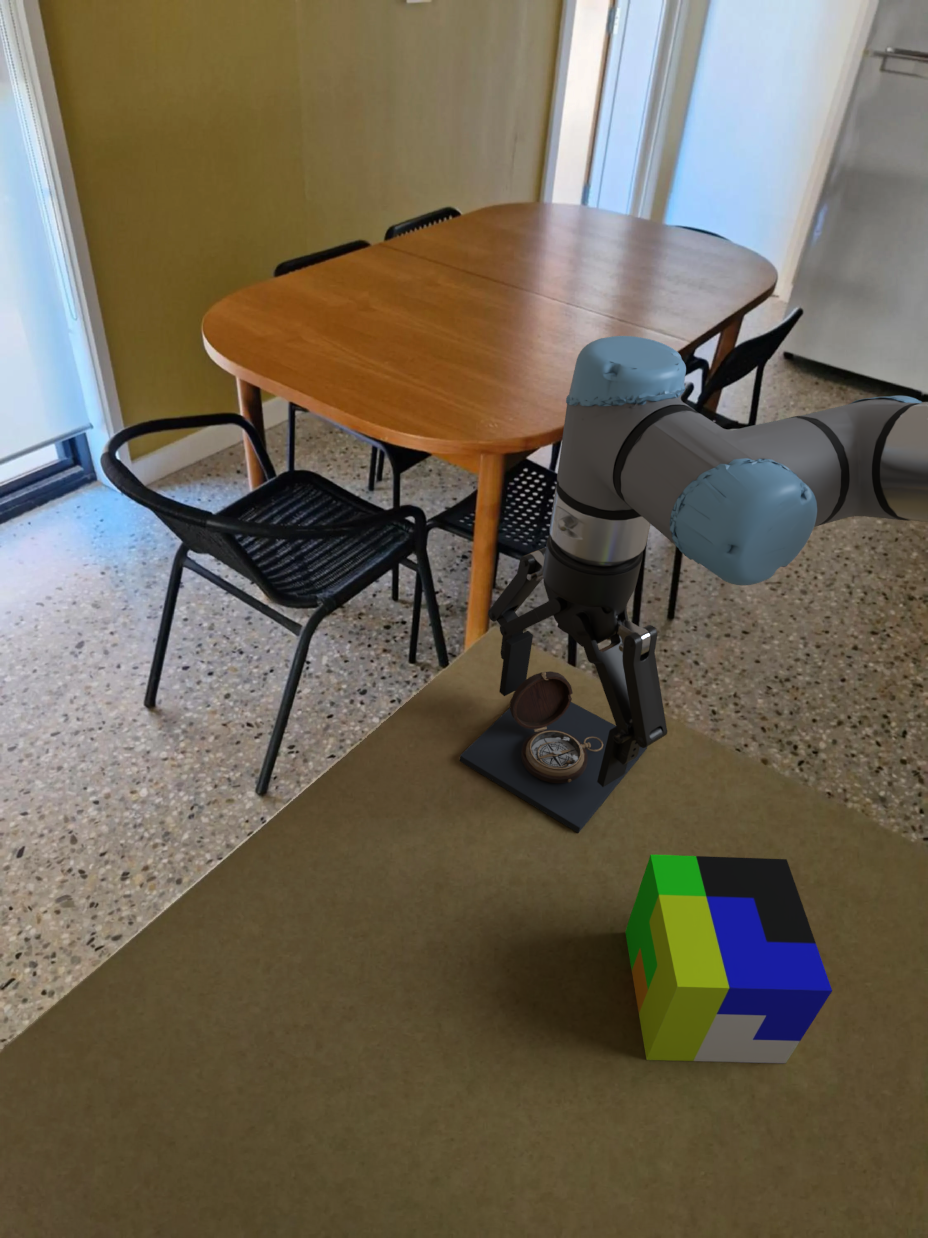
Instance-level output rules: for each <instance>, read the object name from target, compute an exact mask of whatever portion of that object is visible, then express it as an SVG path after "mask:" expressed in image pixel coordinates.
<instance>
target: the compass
mask: <svg viewBox="0 0 928 1238" xmlns="http://www.w3.org/2000/svg"><path fill="white" fill-rule="evenodd" d="M572 695H573V688H572V684H570V682H569V681H568V680H567V678H566V677H565V676H564V675H563V674H561V673H559V672H556V671H542V672H539V673H536V674H533V675H531V676H529V677H527V679H526V680H525V681H524V682H523V683H522V684H521V685H520V686H519V687H518V688H517V689H516V691H514V692H513V694H512V696H511V699H510V702H509V708H510V711H511V714H512V716H513V718H514V719H515V721H516V722H517V723H518V724H519V725H520V726H522V727H524V728H527V729H534V732H536V731H537V732H536V733H534V734H532V735H531V736H529V737H528V738H527V739H526V741H525V742H524V744H523V747H522V753H521V757H522V762H523V764H524V766H525V767H526V769H527V770H528V771H529V772H530V773H531V774H532V775H534V776H535V777H537V778H539V779H541V780H544V781H547V782H550V783H566V782H571V781H573V780H575V779H577V778H578V777H579V776H581V775H582V774H583V772H584V771H585V769H586V766H587V760H588V755H587V751H586V749H588V750H590V751H594V752H595V751H599V750H601V749H602V748H603V743H602V741H601V740H600V739H599V738H597V737H588V738H586V739H585V740H584V744H582V743H581V742H580V741H579V740H578V739H577V738H576V737H574V736H572V735H570V734H568V733H565V732H562V731H559V730H545V729H547V727H546V726H549V725H550V724H552V723H554V722H555V721H557V720H558V719H559V718H560V717H561V716H562V715H563V714H564V713H565V712H566V710H567V709H568V708H569V705H570V703H571V702H572V701H573V698H572ZM589 738H595V739H597V740H599V741H600V742H601V744H602V746H601V748H600V749H598V750H592V749H589V748H590V747H591V744H590V743H589V742H588V743H585V741H586V740H587V739H589Z"/></svg>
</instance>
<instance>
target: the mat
mask: <svg viewBox="0 0 928 1238" xmlns="http://www.w3.org/2000/svg"><path fill="white" fill-rule="evenodd" d="M546 727H547V729H545V730H559V731H562V732H565V733H568V734H570V735H572V736H574V737H576V738H577V739H578V740H579V741H580V742H581V743H582V744H584V740H585V739H586V738H588V737H597V738H599V739H600V740H601V741H602V743H603V748H602V749H601V750H599V751H595V752H594V751H590V750H588V749H586V751H587V755H588V760H587V766H586V769H585V771H584V772H583V774H582V775H581V776H579V777H578V778H577V779H575V780H573V781H571V782H566V783H550V782H547V781H544V780H541V779H539V778H537V777H535V776H534V775H532V774H531V773H530V772H529V771H528V770H527V769H526V767H525V766H524V764H523V762H522V757H521V753H522V747H523V744H524V742H525V741H526V739H527V738H528V737H529V736H531V735H532V734H534V733H536V732H537V731H536V732H534V729H527V728H524V727H522V726H520V725H519V724H518V723H517V722H516V721H515V719H514V718H513V716H512V714H511V711H510V707H509V708H508V709H507V710H505V712H504V713H503V714H501V716H499V717H498V718H497V719H496V720H495V721H494V722H493V723H492V724H491V725H490V726H489V727H488V728H487V729H486V730H485V731H483V732H482V734H481V735H479V736H478V737H477V739H475V740H474V741H473V742H472V743H471V744H470V745H469V746H468V747H467V748H466V749H465V750H464V751H463V752H462V753H461V754H460V755H459V762H460V763H461V764H463V765H465V766H467V767H468V768H470V769H472V770H474V771H475V772H477V773H478V774H480V775H482V776H483V777H485V778H487V779H488V780H489V781H492V782H493V783H495V784H497V786H500V787H501V788H503V789H505V790H506V791H508V792H509V793H511V794H513V795H515V796H516V797H518V798H520V799H521V800H523V801H525V802H526V803H528V804H529V805H530V806H533V807H535V808H536V809H537V810H539V811H541V812H542V813H544V814H546V815H548V816H549V817H551V818H553V819H554V820H555V821H557V822H559V823H560V824H563V826H565V827H567V828H568V829H571V830H572V831H574V832H576V833H577V834H579V833H580V832H581V831H582V830H583V829H584V827H585V826H586V825H587V823H588V822H589V821H590V820H591V818H593V816H594V815H595V813H596V812H597V811H598V810H599V808H600V807H601V806H602V805H603V804H604V802H605V801H606V800H607V799H608V797H609V796H610V795H611V794H612V793H613V791H614V790H615V789H616V788H617V786H618V785H619V784H620V783H621V782H622V780H623V779H624V778H625V776H626V775H627V774H628V773H629V772H630V770H631V769H632V768H633V766H635V764H636V763H637V762H638V760H639V759H640V758H641V757H642V755H643V754H644V753H645V752H646V751H647V749H648V747H649V746H647V747H645V748H642V747H640V749H639V752H638V756H636V757H635V758H634V759H632V760H631V761H629V762H628V764H627V768H626V771H625V774H624V775H622V776H621V777H619V778H618V779H616V780H614V781H613V782H611V783H609V784H608V785H606V786H604V787H602V786H601V785H600V784H599V783H598V782H597V780H598V776H599V772H600V768H601V764H602V760H603V756H604V751H605V747H606V743H607V739H608V735H609V731H610V730H611V729H613V728H614V727H616V724H614V723H612V722H610V721H608V720H606V719H604V718H602V717H600V716H598V715H597V714H595V713H593V712H591V711H589V710H587V709H585V708H584V707H582V706H580V705H578V704H576V703H575V702H572V701H571V703H570V705H569V708H568V709H567V710H566V712H565V713H564V714H563V715H562V716H561V717H560V718H559V719H558V720H557V721H555V722H554V723H552V724H550V725H549V726H546ZM588 742H589V743H590V744H591V747H590V748H589V749H592V750H598V749H600V748H601V746H602V744H601V742H600V741H599V740H597V739H595V738H589V739H587V740H586V741H585V743H588Z"/></svg>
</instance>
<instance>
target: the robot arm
mask: <svg viewBox="0 0 928 1238" xmlns="http://www.w3.org/2000/svg"><path fill="white" fill-rule="evenodd" d="M575 361H576V362H575V365H574V370H573V375H572V379H571V383H570V388H569V392H568V394H567V396H566V398H565V404H566V408H565V409H566V410H565V415H564V424H563V432H562V437H561V438H562V439H561V446H560V452H559V453H560V454H559V460H558V466H557V467H558V468H557V475H556V484H555V489H554V495H553V503H552V510H551V516H550V524H549V529H548V530H549V535H548V536H547V539H546V545H545V547H542V548H540V549H537V550H535V551H532V552H530V553H527V554H524V555H523V556H521V557H520V558H519V563H518V567H517V571H516V574H515V575H514V576H513V578H512V579H511V580H510V582H509V583H508V584H507V586H506V587H505V588H504V589H503V591H502V592H501V593H500V594H499V596H498V598H497V599H496V600H495V602H494V603H493V604H492V606H491V607H490V608H489V609H488V612H487V614H488V618H489V619H490V621H491V622H494V623H495V622H497V623H498V624H499V632H500V634H501V636H502V637H501V645H500V658H501V659H502V666H501V667H502V668H501V675H500V683H499V690H498V691H499V694H501V695H502V696H503V697H506V696H508V695H510V694H512V693H514V692H515V691H516V689H517V688H518V687H519V686H520V685H521V684H522V683H523V682H524V681H525V680H526V679H528V672H529V665H530V658H531V653H532V645H533V639H534V634H533V633H532V632H530V631H529V630H526V629H528V628H531V627H532V626H534V625H536V624H538V623H541V622H543V621H545V620H547V619H548V618H552V617H553V618H554V620H555V622H556V624H557V628H558V629H559V630H560V631H562V632H564V633H565V634H567V635H569V636H570V637H571V638H572V639H573V640H574V641H575V642H576V643H577V645H579V646H581V647H582V648H583V650H584V653H585V656H586V659H587V661H588V663H590V664H592V665H594V666H595V669H596V672H597V676H598V677H599V678H598V679H599V681H600V684H601V687H602V690H603V693H604V695H605V698H606V700H607V703H608V707H609V709H610V712H611V715H612V718H613V721H614V723H615V724H614V725H616V727H614V728H613V729H611V730H610V731H609V735H608V739H607V743H606V747H605V751H604V756H603V760H602V764H601V768H600V772H599V776H598V780H597V782H598V783H599V784H600V785H601V786H602V787H604V786H606V785H608V784H609V783H611V782H613V781H614V780H616V779H618V778H619V777H621V776H622V775H624V774H625V771H626V768H627V764H628V762H629V761H631V760H632V759H634V758H635V757H636V756H638V752H639V749H640V747H642V748H645V747H647V746H648V747H649V746H650V745H652V744H654V743H656V742H657V741H659V740H660V739H662V738H664V737H665V736H667V734H668V728H667V721H666V715H665V709H664V702H663V696H662V690H661V685H660V677H659V672H658V664H657V659H656V658H657V657H656V646H657V639H658V631H657V628H655V626H653V625H652V624H647V625H646V626H643V627H641V626H638V624H635V623H633V622H632V621H630V620H629V615H628V609H627V608H628V607H627V606H628V603H629V601H630V599H631V598H632V596H633V594H634V592H635V589H636V586H637V583H638V579H639V574H640V569H641V565H642V562H643V557H644V550H645V548H646V545H647V542H648V538H649V533H650V530H651V526H652V527H654V529H656V530H657V531H658V532H659V533H661V534H662V535H663V537H665V538H666V539H668V540H669V541H670V542H671V543H672V544H673V545H675V547H676V548H678V550H679V552H681V554H683V555H684V557H686V558H687V559H688V560H691V561H694V562H695V563H696V564H697V565H699V564H700V565H701V566H702V567H704V568H706V569H707V570H709V571H710V572H711V573H713V574H714V575H715V576H717V577H718V578H719V579H720V580H722V581H724V582H726V583H728V584H730V585H735V586H752V585H757V584H759V583H760V584H761V583H762V582H765V581H767V580H769V579H772V577H773V576H774V575H775V573H776V572H777V570H778V569H780V568H786V567H788V566H789V565H790V564H791V563H792V562H793V561H794V560H795V559H796V558H797V556H799V554H800V553H801V551H802V550H803V548H804V547H805V546H806V545H807V542H808V541H809V539H810V538H811V535H812V533H813V531H814V528H816V527H819V526H823V525H826V524H829V523H834V522H837V521H840V520H844V519H847V518H853V517H866V518H867V517H869V518H877V519H878V518H879V519H885V520H886V519H887V520H897V521H906V522H909V521H913V522H922V523H923V522H924V523H928V401H922V400H919V399H917V398H915V397H913V396H908V395H890V396H875V397H866V398H865V397H864V398H861V399H855V400H854V401H852V402H850V403H848V404H843V405H839V406H835V407H832V408H827V409H823V410H820V411H819V410H818V411H815V412H811V413H806V414H803V415H794V416H791V417H787V418H783V419H778V420H773V421H768V422H765V423H758V424H754V425H750V426H745V427H741V428H736V429H726V428H723V427H721V425H719V424H718V423H715V422H714V421H712V420H711V419H709V418H707V417H706V416H705V415H703V414H702V413H699V412H698V411H697V410H695V409H694V408H693V407H691V406H690V405H688V404H687V403H685V402H683V400H682V395H683V394H685V393H684V392H685V390H686V386H685V382H686V381H685V379H686V373H687V366H686V364H685V362H684V360H683V359H682V356H681V354H680V353H679V352H678V350H676V349H675V348H673V347H671V346H669V345H668V344H665V343H663V342H660V341H657V340H654V339H650V338H646V337H640V336H635V335H634V336H633V335H614V336H607V337H601V338H597V339H595V340H592V341H591V342H589V343H587V344H586V345H585V346H583V348H582V349H581V350H580V351H579V353H578V355H577V357H576V360H575ZM541 581H543V587H544V590H545V592H546V596H547V600H548V601H546V602H544V603H542V604H539V605H538V606H536V607H534V608H533V609H531V610H529V611H527V612H525V613H523V614H521V615H518V614H517V611H518V610H519V608H521V606H522V605H523V604H524V602H525V601H526V600H527V599H528V597H530V595H531V594H532V593H533V591H534V590H535V589H536V588H537V586H539V584H540V583H541ZM524 630H526V631H524ZM609 639H610V643H609V644H608V645H606V646H604V647H602V648H599V644H600V643H602V642H604V641H606V640H609ZM648 747H647V748H648Z"/></svg>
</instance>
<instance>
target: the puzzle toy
mask: <svg viewBox="0 0 928 1238" xmlns="http://www.w3.org/2000/svg"><path fill="white" fill-rule="evenodd" d="M801 899H802V898H801V897H800V894H799V890H798V888H797V885H796V882H795V878H794V877H793V874H792V870H791V868H790V865H789V862H788V859H787V858H764V857H763V858H762V857H735V856H734V857H733V856H705V855H680V854H679V855H678V854H677V855H675V854H650V855H649V857H648V861H647V864H646V868H645V870H644V873H643V875H642V879H641V882H640V885H639V888H638V891H637V894H636V897H635V901H634V904H633V906H632V910H631V913H630V916H629V918H628V921H627V925H626V928H625V931H624V933H625V938H626V945H627V950H628V957H629V963H630V968H631V974H632V981H633V986H634V992H635V993H634V994H635V1000H636V1005H637V1011H638V1017H639V1023H640V1029H641V1035H642V1041H643V1047H644V1054H645V1060H646V1061H670V1062H671V1061H673V1062H710V1063H711V1062H712V1063H713V1062H715V1063H751V1064H753V1063H754V1064H758V1063H759V1064H787V1062H788V1061H789V1059H790V1058H791V1056H792V1055H793V1053H794V1052H795V1050H796V1049H797V1047H798V1046H799V1044H800V1042H801V1041H802V1039H803V1038H804V1036H805V1035H806V1032H807V1031H808V1030H809V1028H810V1027H811V1025H812V1024H813V1022H814V1021H815V1019H816V1018H817V1016H818V1014H819V1012H820V1011H821V1009H822V1008H823V1007H824V1005H825V1003H826V1002H827V1000H828V999H829V997H830V995H831V994H832V993H833V989H832V986H831V983H830V979H829V977H828V975H827V971H826V968H825V966H824V962H823V960H822V957H821V954H820V951H819V948H818V946H817V943H816V939H815V937H814V934H813V931H812V928H811V925H810V923H809V920H808V917H807V914H806V911H805V907H804V906H803V902H802V900H801Z"/></svg>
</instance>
